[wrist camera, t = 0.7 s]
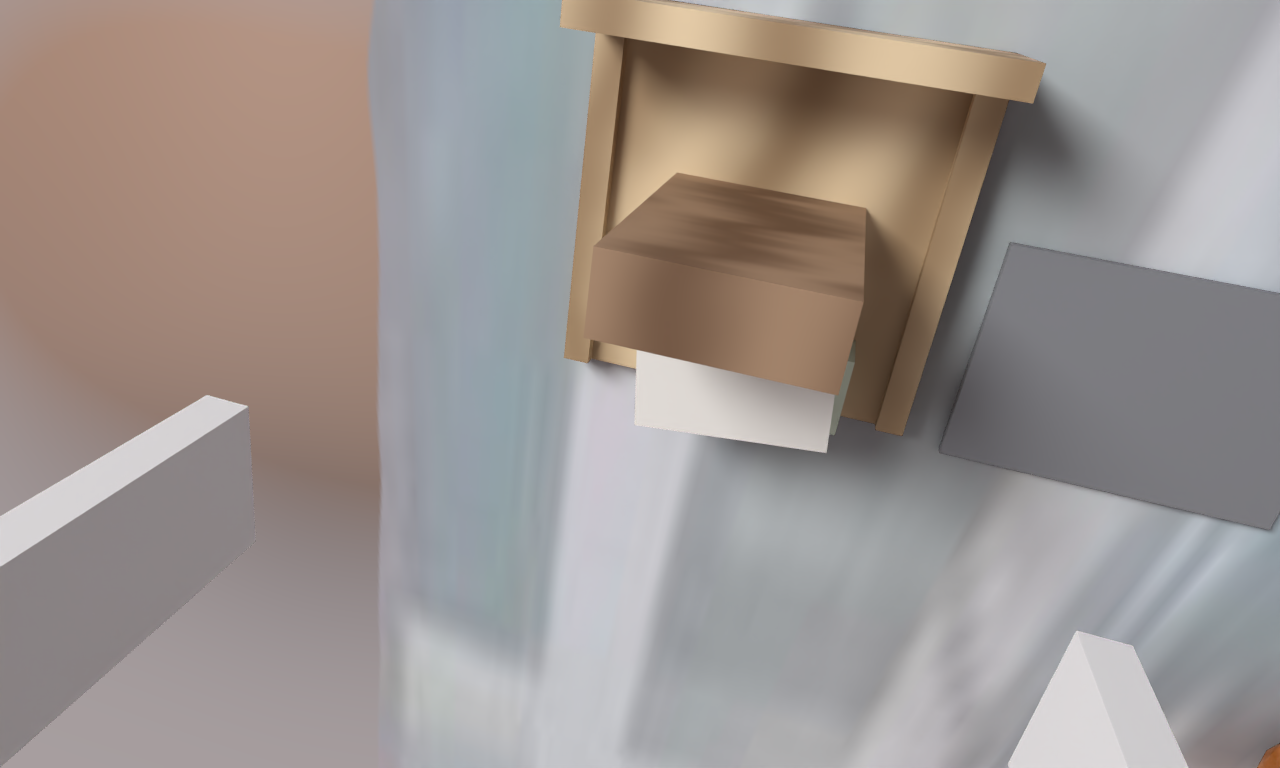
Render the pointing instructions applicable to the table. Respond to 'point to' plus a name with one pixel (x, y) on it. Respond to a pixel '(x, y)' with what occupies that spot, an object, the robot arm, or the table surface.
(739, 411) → the offcut upper
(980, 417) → the rubber mat
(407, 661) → the table surface
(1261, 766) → the bread
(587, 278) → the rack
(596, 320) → the walnut board
